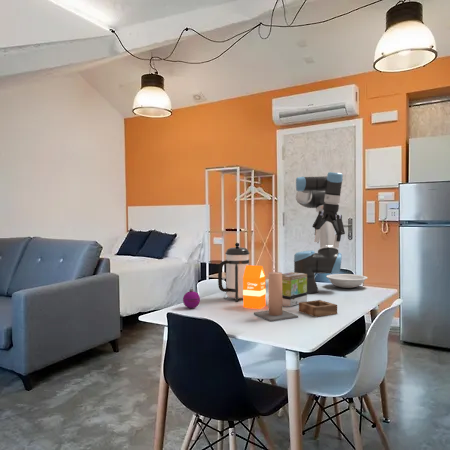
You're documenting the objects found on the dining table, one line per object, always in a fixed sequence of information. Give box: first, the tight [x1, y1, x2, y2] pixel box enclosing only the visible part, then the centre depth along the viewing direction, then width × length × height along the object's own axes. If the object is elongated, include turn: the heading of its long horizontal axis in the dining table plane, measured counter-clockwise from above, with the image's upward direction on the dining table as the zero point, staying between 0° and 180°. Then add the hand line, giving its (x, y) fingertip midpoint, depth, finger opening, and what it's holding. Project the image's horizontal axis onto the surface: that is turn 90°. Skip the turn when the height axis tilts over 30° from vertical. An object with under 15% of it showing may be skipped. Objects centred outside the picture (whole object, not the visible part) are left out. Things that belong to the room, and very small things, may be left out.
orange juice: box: [242, 264, 267, 310], centre depth 193 cm, size 8×9×20 cm
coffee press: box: [217, 242, 250, 303], centre depth 210 cm, size 17×16×30 cm
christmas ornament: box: [182, 287, 201, 309], centre depth 191 cm, size 8×8×10 cm
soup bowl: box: [326, 273, 368, 289], centre depth 242 cm, size 24×24×7 cm
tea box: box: [282, 271, 308, 307], centre depth 200 cm, size 15×10×15 cm, turn 137°
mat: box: [253, 309, 299, 322], centre depth 174 cm, size 14×14×1 cm
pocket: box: [298, 299, 338, 318], centre depth 180 cm, size 12×12×4 cm
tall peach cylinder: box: [267, 271, 284, 316], centre depth 174 cm, size 6×6×18 cm
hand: (326, 244), depth 203 cm, fingers open, 13 cm apart
